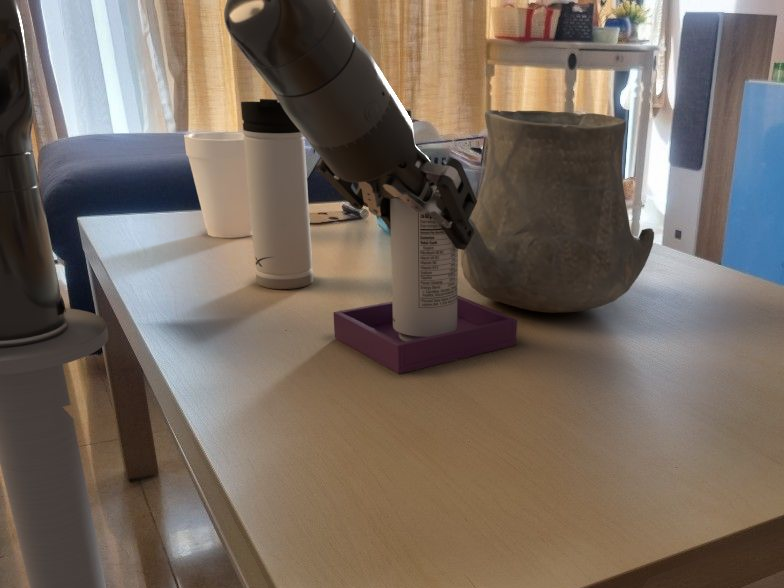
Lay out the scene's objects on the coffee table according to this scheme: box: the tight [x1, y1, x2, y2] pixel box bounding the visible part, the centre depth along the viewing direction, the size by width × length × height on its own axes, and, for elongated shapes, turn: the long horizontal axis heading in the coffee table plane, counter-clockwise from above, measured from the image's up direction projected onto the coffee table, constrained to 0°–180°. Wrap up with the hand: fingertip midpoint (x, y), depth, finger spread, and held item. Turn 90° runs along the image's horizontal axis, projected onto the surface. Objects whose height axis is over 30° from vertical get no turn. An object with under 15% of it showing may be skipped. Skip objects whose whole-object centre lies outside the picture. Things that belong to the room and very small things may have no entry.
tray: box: [332, 294, 518, 375], centre depth 79 cm, size 13×11×3 cm
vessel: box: [460, 109, 655, 314], centre depth 90 cm, size 22×22×20 cm
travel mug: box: [240, 98, 314, 290], centre depth 92 cm, size 6×7×20 cm
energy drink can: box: [390, 182, 459, 342], centre depth 76 cm, size 6×6×15 cm
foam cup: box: [183, 131, 252, 239], centre depth 114 cm, size 10×9×13 cm
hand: (435, 235), depth 77 cm, fingers closed on energy drink can, 6 cm apart
